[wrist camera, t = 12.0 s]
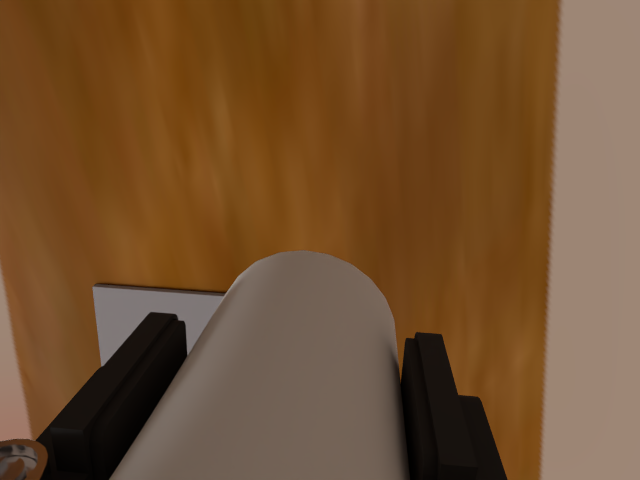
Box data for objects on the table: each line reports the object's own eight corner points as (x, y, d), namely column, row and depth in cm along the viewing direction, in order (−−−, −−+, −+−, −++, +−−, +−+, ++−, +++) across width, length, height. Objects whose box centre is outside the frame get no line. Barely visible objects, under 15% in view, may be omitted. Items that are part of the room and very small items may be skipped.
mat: (95, 283, 30) (92, 286, 30) (366, 303, 29) (366, 307, 29) (124, 539, 37) (122, 544, 37) (347, 563, 36) (346, 569, 35)
